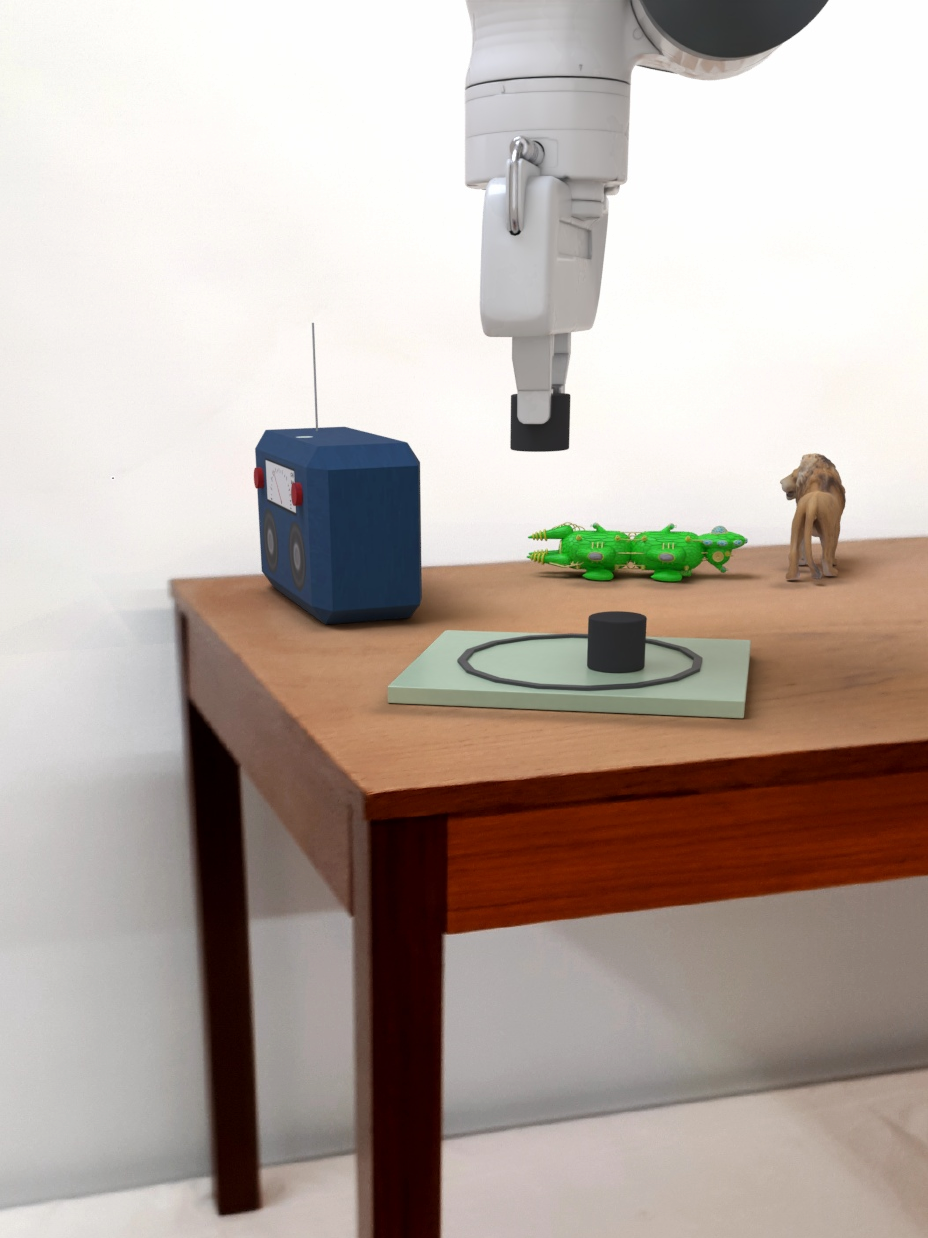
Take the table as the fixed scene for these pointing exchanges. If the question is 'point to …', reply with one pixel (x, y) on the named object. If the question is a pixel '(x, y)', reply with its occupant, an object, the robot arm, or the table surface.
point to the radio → (340, 521)
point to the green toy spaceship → (636, 550)
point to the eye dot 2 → (616, 642)
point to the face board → (576, 675)
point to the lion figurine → (814, 513)
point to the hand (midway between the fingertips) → (541, 420)
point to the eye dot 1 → (542, 428)
